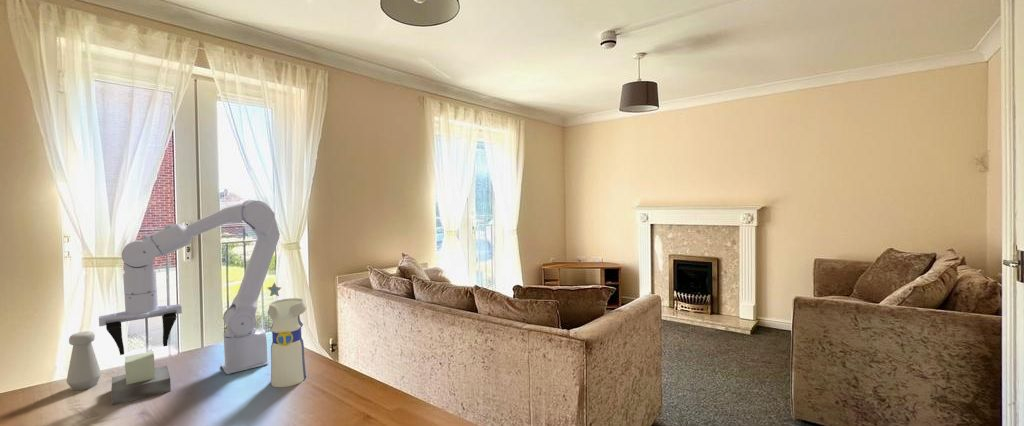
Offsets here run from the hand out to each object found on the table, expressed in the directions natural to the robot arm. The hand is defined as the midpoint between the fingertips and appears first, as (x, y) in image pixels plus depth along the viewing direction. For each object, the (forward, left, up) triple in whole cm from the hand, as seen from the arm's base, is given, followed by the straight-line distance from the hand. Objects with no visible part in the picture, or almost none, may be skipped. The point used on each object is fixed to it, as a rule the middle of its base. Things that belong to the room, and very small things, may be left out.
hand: (144, 349), depth 100 cm
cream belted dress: (-26, +19, -10) cm, 34 cm away
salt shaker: (+11, -11, -10) cm, 18 cm away
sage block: (+1, +1, -6) cm, 6 cm away
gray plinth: (+1, +1, -9) cm, 9 cm away
